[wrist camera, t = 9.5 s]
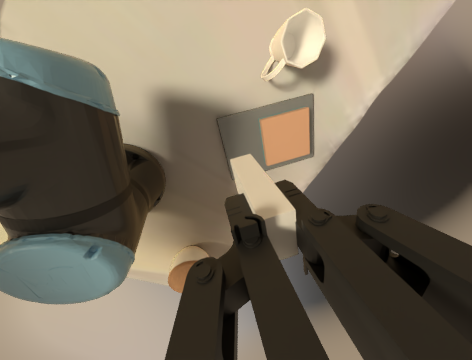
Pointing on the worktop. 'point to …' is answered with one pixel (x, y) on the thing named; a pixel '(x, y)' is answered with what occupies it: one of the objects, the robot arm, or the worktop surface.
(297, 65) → the cup
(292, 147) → the tile
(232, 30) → the worktop surface
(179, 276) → the lidded jar
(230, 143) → the mat
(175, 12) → the worktop surface
